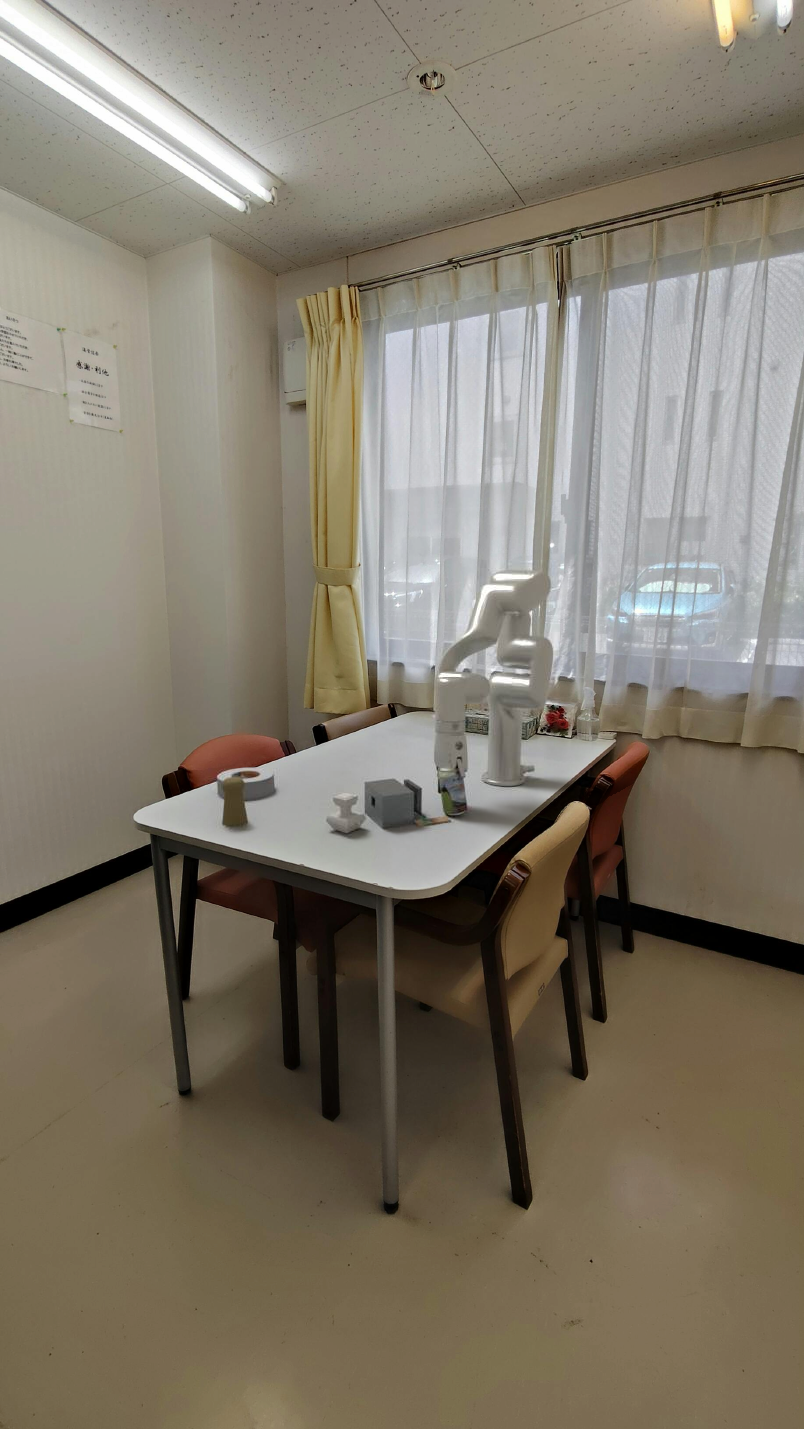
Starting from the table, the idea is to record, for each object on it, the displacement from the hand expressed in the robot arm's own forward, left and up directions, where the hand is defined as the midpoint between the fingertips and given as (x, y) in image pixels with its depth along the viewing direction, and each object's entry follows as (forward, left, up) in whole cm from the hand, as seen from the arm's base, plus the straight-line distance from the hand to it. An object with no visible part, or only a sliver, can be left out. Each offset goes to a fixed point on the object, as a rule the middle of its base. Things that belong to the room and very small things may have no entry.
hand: (448, 795), depth 167 cm
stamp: (+29, +3, -4) cm, 29 cm away
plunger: (+14, +2, -2) cm, 14 cm away
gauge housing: (+17, 0, -4) cm, 17 cm away
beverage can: (+1, +3, -4) cm, 5 cm away
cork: (+52, -12, -4) cm, 53 cm away
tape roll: (+45, -35, -4) cm, 57 cm away
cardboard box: (+8, +7, -4) cm, 11 cm away
